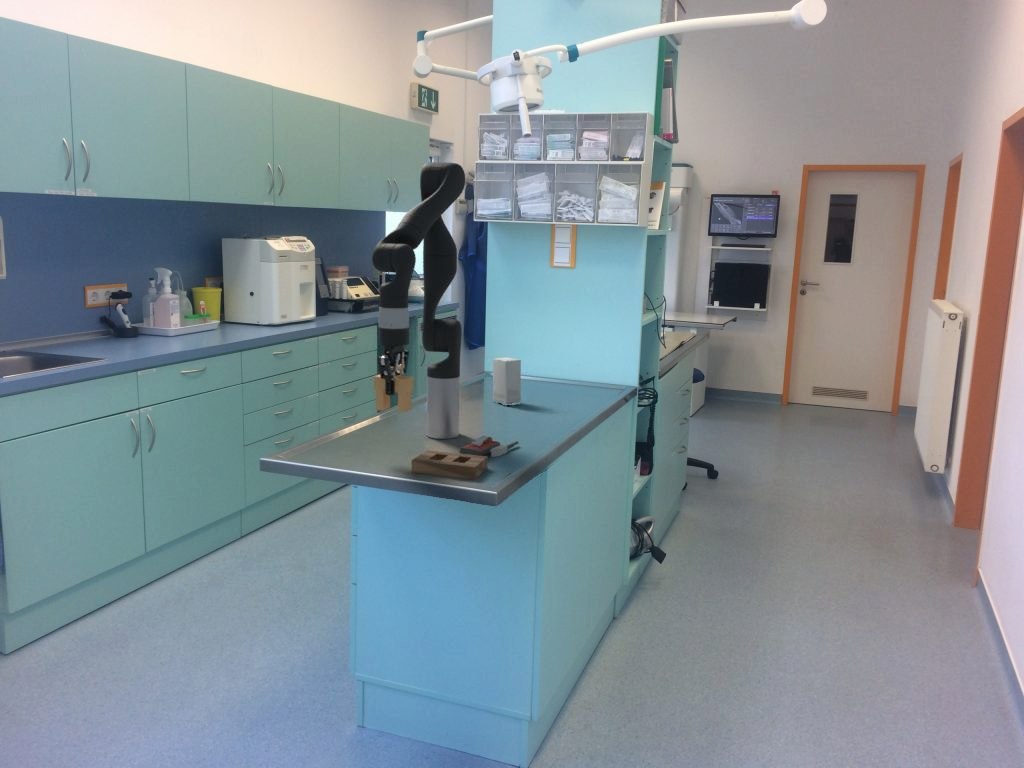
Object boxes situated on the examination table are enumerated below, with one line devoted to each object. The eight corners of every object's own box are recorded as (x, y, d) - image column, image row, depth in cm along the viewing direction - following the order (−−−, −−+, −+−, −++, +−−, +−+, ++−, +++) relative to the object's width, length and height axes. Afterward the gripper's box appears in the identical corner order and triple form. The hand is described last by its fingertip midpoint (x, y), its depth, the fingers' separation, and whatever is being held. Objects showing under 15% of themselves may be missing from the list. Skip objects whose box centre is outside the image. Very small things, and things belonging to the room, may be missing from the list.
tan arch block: (381, 406, 207) (380, 373, 206) (413, 409, 205) (413, 376, 203) (374, 409, 204) (373, 376, 202) (407, 412, 201) (407, 379, 200)
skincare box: (521, 405, 277) (522, 359, 274) (504, 406, 273) (506, 361, 270) (507, 400, 284) (508, 356, 281) (491, 402, 280) (492, 357, 277)
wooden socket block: (426, 461, 204) (427, 450, 204) (487, 468, 200) (487, 456, 199) (411, 472, 195) (411, 460, 194) (474, 479, 190) (474, 467, 190)
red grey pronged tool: (484, 464, 204) (520, 448, 222) (485, 447, 203) (521, 432, 221) (454, 459, 208) (492, 443, 226) (455, 442, 207) (493, 428, 225)
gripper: (395, 329, 193) (395, 400, 196) (419, 323, 206) (418, 389, 209) (367, 327, 195) (367, 397, 198) (391, 321, 208) (391, 387, 211)
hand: (393, 392), depth 204 cm, fingers closed on tan arch block, 4 cm apart
